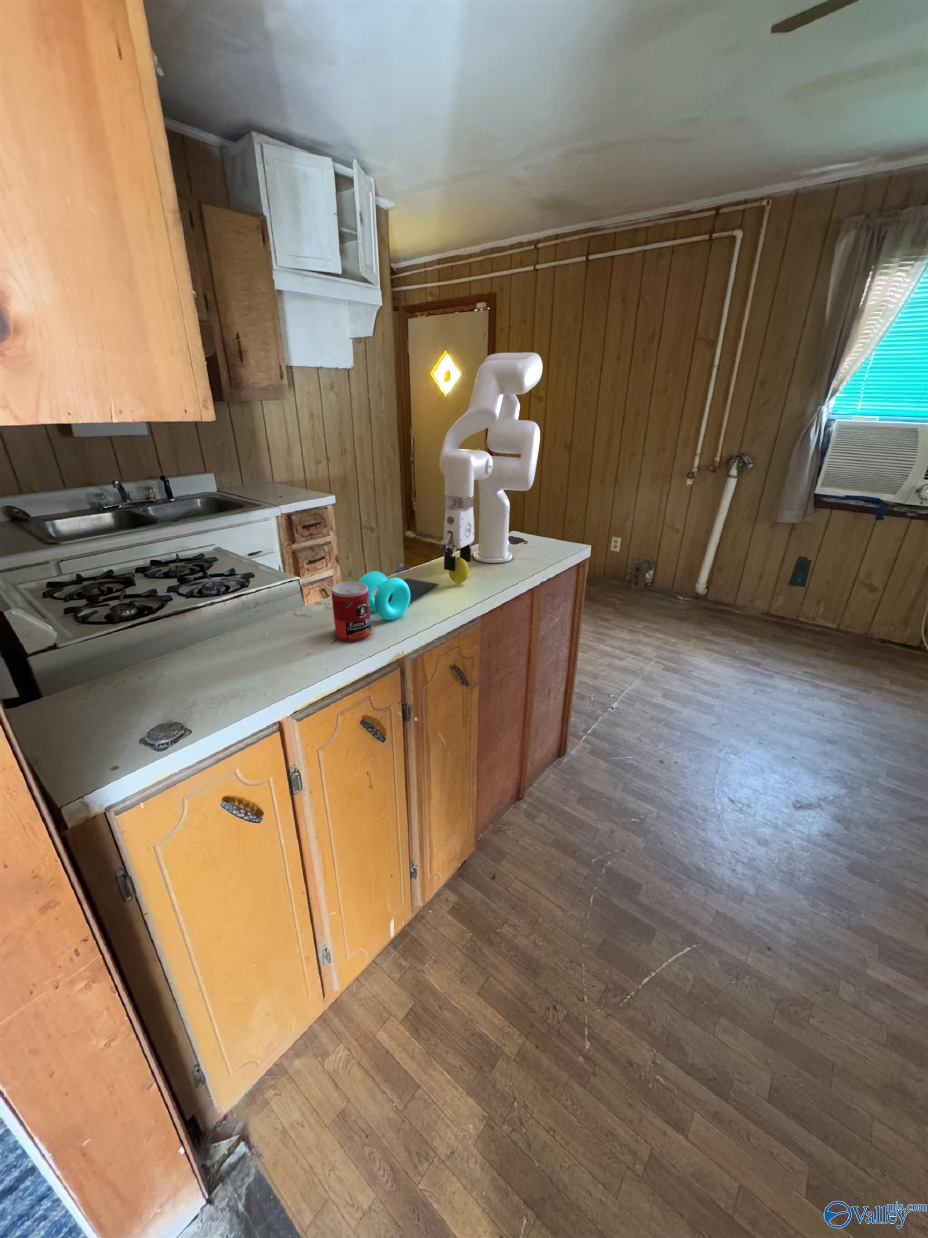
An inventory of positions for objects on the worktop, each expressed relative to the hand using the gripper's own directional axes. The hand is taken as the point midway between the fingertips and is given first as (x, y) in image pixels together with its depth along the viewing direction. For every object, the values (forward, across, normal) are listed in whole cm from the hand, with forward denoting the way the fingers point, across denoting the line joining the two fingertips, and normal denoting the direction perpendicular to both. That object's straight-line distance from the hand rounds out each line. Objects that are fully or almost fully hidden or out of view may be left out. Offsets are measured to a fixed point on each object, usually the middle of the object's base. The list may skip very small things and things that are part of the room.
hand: (457, 565), depth 137 cm
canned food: (+7, -38, +7) cm, 39 cm away
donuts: (+7, -26, +7) cm, 28 cm away
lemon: (+6, +1, 0) cm, 6 cm away
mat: (+6, -11, +10) cm, 16 cm away
